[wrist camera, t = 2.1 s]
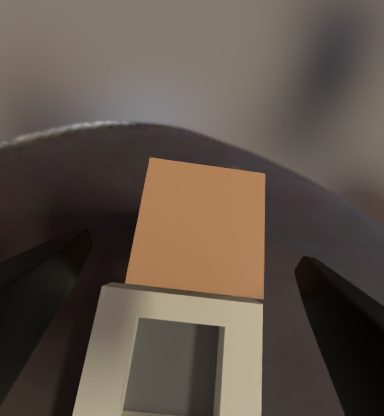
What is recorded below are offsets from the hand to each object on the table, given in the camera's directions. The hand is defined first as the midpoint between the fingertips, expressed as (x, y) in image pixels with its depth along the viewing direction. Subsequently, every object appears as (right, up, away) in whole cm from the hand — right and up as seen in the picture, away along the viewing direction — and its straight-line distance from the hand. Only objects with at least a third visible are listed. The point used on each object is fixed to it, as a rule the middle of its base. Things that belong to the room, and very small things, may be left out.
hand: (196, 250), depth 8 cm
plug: (0, -1, +9) cm, 9 cm away
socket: (-2, -10, +6) cm, 12 cm away
